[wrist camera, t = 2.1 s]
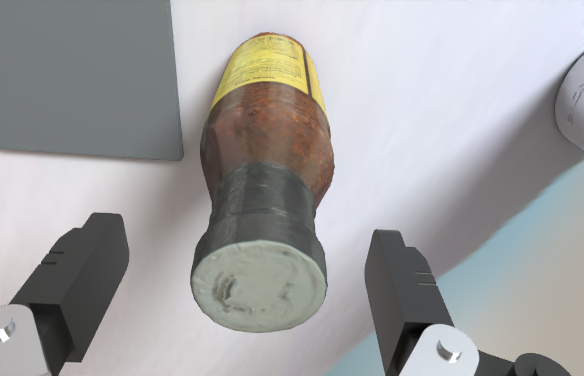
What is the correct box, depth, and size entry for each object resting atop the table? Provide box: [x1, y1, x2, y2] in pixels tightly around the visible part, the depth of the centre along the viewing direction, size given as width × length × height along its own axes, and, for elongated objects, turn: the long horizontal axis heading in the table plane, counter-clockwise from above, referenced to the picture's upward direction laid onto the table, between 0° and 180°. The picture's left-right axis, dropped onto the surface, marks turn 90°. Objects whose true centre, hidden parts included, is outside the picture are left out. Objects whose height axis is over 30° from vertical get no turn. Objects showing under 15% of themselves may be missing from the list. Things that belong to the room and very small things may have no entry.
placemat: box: [0, 0, 183, 161], centre depth 27 cm, size 14×12×1 cm
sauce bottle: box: [190, 32, 335, 333], centre depth 19 cm, size 6×6×20 cm
